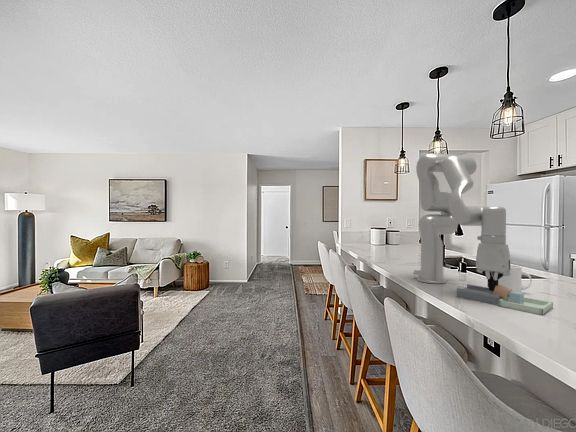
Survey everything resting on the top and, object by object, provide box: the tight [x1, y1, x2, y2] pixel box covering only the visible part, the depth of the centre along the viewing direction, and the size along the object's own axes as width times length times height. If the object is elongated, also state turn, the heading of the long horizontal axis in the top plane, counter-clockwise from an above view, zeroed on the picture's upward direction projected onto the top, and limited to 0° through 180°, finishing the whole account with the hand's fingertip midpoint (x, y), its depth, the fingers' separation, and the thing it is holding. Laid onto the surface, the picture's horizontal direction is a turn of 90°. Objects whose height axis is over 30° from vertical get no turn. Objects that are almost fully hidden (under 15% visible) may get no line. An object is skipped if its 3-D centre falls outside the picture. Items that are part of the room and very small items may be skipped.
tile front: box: [510, 291, 525, 305], centre depth 109 cm, size 4×4×3 cm
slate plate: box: [456, 283, 503, 306], centre depth 118 cm, size 14×10×4 cm
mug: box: [498, 264, 532, 292], centre depth 128 cm, size 9×12×11 cm
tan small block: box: [493, 284, 512, 298], centre depth 113 cm, size 4×4×3 cm
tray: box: [497, 296, 554, 316], centre depth 108 cm, size 12×12×2 cm
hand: (492, 290), depth 115 cm, fingers closed
